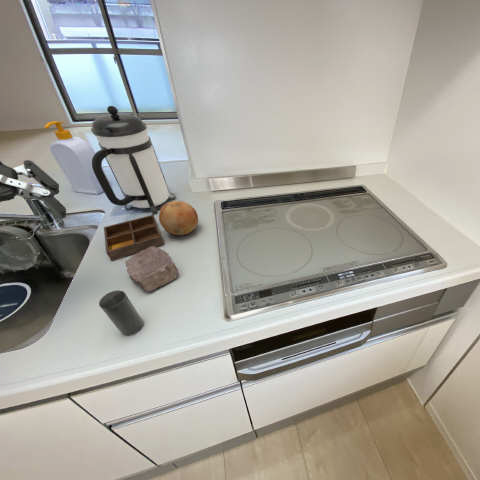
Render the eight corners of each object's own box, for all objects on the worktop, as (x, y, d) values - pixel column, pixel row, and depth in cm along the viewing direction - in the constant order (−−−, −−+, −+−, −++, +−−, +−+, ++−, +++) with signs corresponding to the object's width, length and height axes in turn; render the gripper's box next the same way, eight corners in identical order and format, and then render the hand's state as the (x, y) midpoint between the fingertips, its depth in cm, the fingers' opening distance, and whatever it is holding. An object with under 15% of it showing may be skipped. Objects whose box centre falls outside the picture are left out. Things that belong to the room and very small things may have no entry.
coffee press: (122, 198, 89) (73, 101, 70) (173, 189, 95) (141, 98, 76) (121, 225, 77) (63, 118, 58) (179, 213, 84) (144, 112, 65)
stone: (124, 270, 63) (115, 257, 61) (161, 253, 69) (155, 239, 66) (145, 297, 58) (137, 283, 55) (184, 275, 63) (178, 262, 60)
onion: (200, 219, 82) (191, 191, 75) (202, 237, 75) (194, 208, 68) (165, 225, 78) (154, 196, 72) (165, 245, 71) (152, 215, 65)
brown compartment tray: (111, 261, 66) (106, 252, 64) (108, 235, 73) (103, 227, 72) (164, 244, 72) (161, 236, 70) (156, 222, 79) (153, 214, 77)
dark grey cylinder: (121, 339, 50) (99, 312, 44) (120, 324, 53) (98, 296, 47) (145, 329, 52) (126, 301, 46) (142, 315, 54) (124, 287, 49)
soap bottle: (73, 193, 90) (29, 123, 75) (89, 184, 95) (51, 117, 81) (97, 196, 89) (58, 126, 75) (112, 186, 95) (78, 119, 80)
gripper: (-154, 147, 31) (-30, 247, 35) (-1, 119, 42) (82, 200, 45) (-125, 177, 36) (-19, 262, 40) (6, 146, 47) (80, 216, 50)
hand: (34, 229), depth 43 cm, fingers open, 8 cm apart
